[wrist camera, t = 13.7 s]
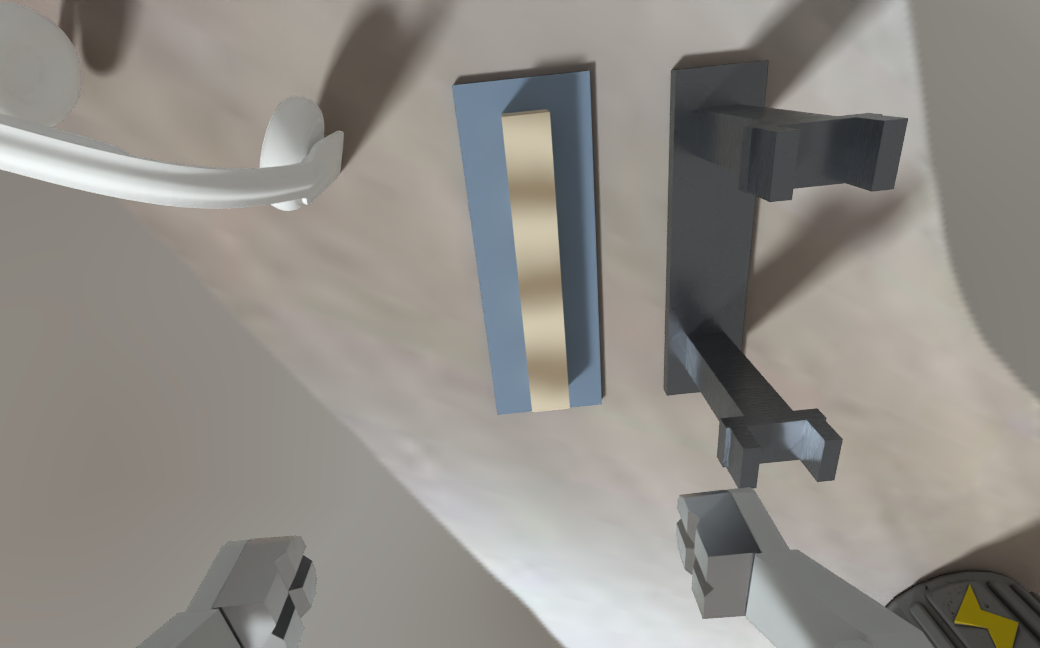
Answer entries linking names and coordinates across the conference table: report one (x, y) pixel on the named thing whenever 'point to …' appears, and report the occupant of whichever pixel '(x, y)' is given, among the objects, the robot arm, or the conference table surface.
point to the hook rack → (748, 246)
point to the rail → (537, 254)
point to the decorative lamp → (972, 611)
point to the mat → (496, 237)
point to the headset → (113, 172)
